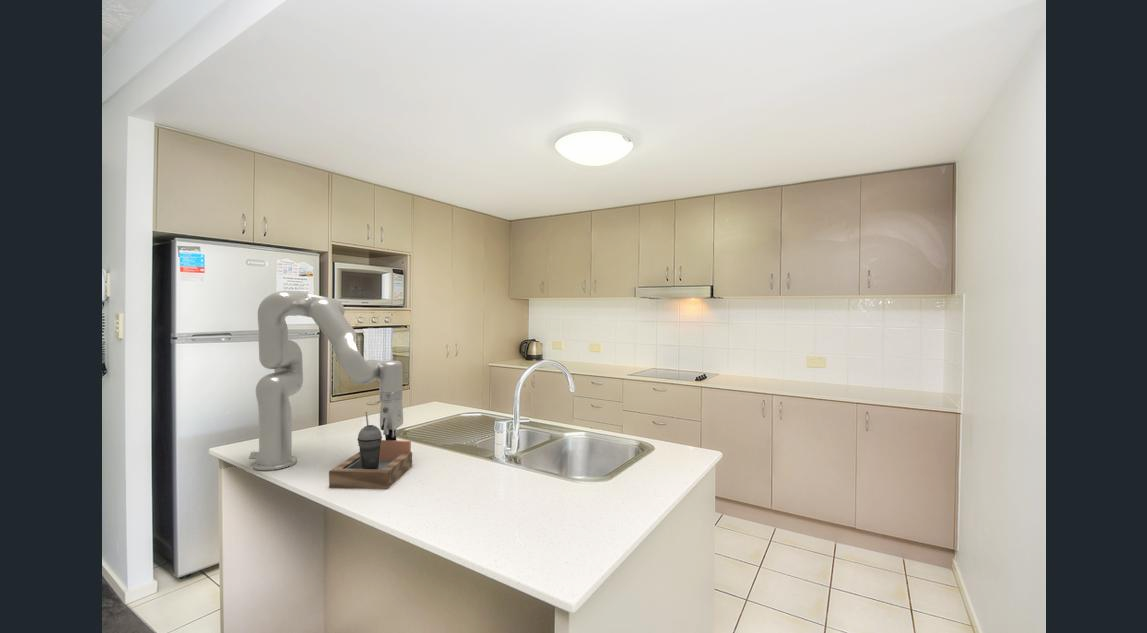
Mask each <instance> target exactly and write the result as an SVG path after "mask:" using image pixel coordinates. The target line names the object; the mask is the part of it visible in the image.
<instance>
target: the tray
mask: <svg viewBox="0 0 1147 633" xmlns="http://www.w3.org/2000/svg"><path fill="white" fill-rule="evenodd" d="M404 452H412V442H411V440H398V439H396V440H386V439H382V440H381V444H380V454H379V465H378V469H381V470H383V469H384V468H385V467H386V466H388V465H389V464H390V463H391V462H393V461H394V460H395V459H396V458H398V457H399V456H400V455H401V454H403V453H404ZM345 469H361V459H359V460H357V461H356V462H354V463H353V464H351V465H350V466H348V467H347V468H345Z"/></svg>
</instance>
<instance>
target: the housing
mask: <svg viewBox="0 0 1147 633" xmlns="http://www.w3.org/2000/svg"><path fill="white" fill-rule="evenodd" d="M359 459H360V451H358V452H357V453H355V454H354V455H352V456H350V457H349V458H348V459H345V460H344V461H343V462H342V463H340V464H338V465H337V466H335V467H334V468H332V469H331V470H329V472H328V482H329V483H328V487H329V489H331V488H332V489H364V488H368V489H367V490H369V489H371V488H372V489H373V490H375V489H376V490H388V489H389V488H390V487H391V486H393V484H394V483H396V482H397V481H398V480H399V479H400V478H401V477H402V476H403V475H404V474H405V473H406V472H408V471H409V470H410V469H411V468H413V451H411V452H404V453H403V454H401V455H400V456H399V457H398V458H396V459H395V460H394V461H393V462H391V463H390V464H389V465H388V466H386V467H385V468H384V469H383V470H381V469H345V468H347V467H348V466H350V465H351V464H353V463H354V462H356V461H357V460H359ZM409 468H410V469H409ZM407 470H408V471H407ZM372 489H371V490H372Z"/></svg>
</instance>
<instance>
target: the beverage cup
mask: <svg viewBox="0 0 1147 633" xmlns="http://www.w3.org/2000/svg"><path fill="white" fill-rule="evenodd" d="M368 417H369V416H368V411H365V421H366V426H364V427H362V429H360V431H359V433H358V435H357V443H358V447H359V452H360V459H361V469H378V465H379V454H380V444H381V440H383V435H382V432H381V431H382V430H381V429H380V427H378V426H376V425H374V424H369V418H368Z"/></svg>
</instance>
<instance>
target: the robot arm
mask: <svg viewBox="0 0 1147 633" xmlns="http://www.w3.org/2000/svg"><path fill="white" fill-rule="evenodd" d="M344 315H345V306H344V305H343V303H342V302H341V301H339V300H338V299H336V298H334V297H333V298H332V297H328V296H327V297H326V296H323V295H318V294H313V293H309V292H302V291H295V290H294V291H293V290H280V291H276V292H273V293H271V294H269V295H267V296H266V297H264V298H263V300H262V301H261V302H260V304H259V305H258V309H257V324H258V325H257V326H258V359H259V362H260V364H261V366H262V367H264V368H265V369H267V370H268V369H269V370H273V371H274V372H272V373H269V374H266V375H264V376H263V377H261V378H260V379H259V380H258V382H257V384H256V386H255V397H256V401H257V408H258V451H251V452H250V454H249V455H248V459H249V460H255V462H254V463H253V469H255V471H275V469H276V470H281V468H282V469H285V467H286V468H288V466H289V467H291V466H293V465H296V463H297V461H298V458H297V457H296V456H293V455H292V454H293V450H292V449H293V448H292V444H293V442H292V441H293V439H292V436H293V434H292V430H293V429H292V424H293V423H292V421H293V420H292V418H293V417H292V407H291V402H290V399H289V397H292V396H293V395H296V394H297V393H298V392H299V391H300V390H301V389H302V386H303V382H304V370H303V369H304V368H303V352H302V351H303V350H302V349H301V347H300V346H299V344H298V343H297V342H295V341H294V340H292V339H289V329H288V325H287V322H286V318H287V317H288V316H289V317H291V316H302V317H307V318H311V319H312V320H313V322H315V324H316V325H317V326H318V328H319V329H320V331H322V333H323V334H324V336H325V337H326V338H327V340H328V341H329V343H330V344H331V346H332V348H333V351H334V355H335V357H336V359H337V362H338V363H339V365H340V367H341V368H342V370H344V372H345V374H346V375H347V376H348V378H350V379H351V381H353V382H354V383H355V384H356V385H361V386H362V385H363V386H364V385H367V384H369V383H372V382H375V381H377V380H378V383H379V388H378V390H379V395H378V396H379V402H380V408H379V410H380V411H379V429H380V431H383V435H384V436H385V437H384V438H385V440H397V435H398V428H400V427H401V426H403V424H404V410H403V409H404V408H403V363H402V362H401V361H399V360H377V359H367V360H366V359H365V358H364V356H363V355H362V353H361V352H360V350H359V349H358V347H357V346H358V345H357V343H356V336H357V334H356V331H355V329H354V328H353V327H352V325H351V324H350V322H348V320H347V318H346V317H345V316H344ZM383 435H382V436H383Z"/></svg>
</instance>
